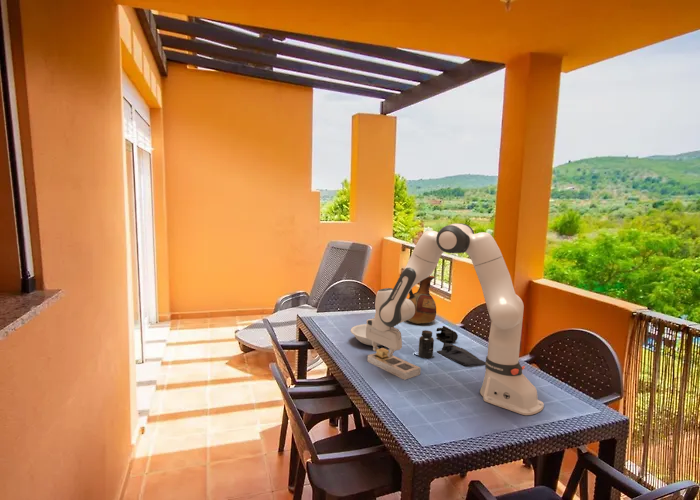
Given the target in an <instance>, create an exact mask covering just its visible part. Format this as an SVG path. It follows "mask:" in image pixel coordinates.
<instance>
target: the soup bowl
mask: <svg viewBox="0 0 700 500" xmlns="http://www.w3.org/2000/svg"><path fill="white" fill-rule="evenodd" d="M367 325H368V324H367V323H362V324H357V325H354V326H352V327H351V328H350V333H351V334H352V335H353V336H354V337H355V339H356V340H357V341H359V343H361V344H364V345H367V346H372V347H373V345H372V340H369V339H367V337H366V326H367ZM376 344H377V347H379V346H382V345H381V344H379V343H376Z"/></svg>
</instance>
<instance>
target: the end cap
mask: <svg viewBox="0 0 700 500" xmlns="http://www.w3.org/2000/svg"><path fill="white" fill-rule="evenodd" d="M435 334H436V336H435V337H436V340H438V341H439V342H440V343H442V344H444V343H449V344H454V343H456V341H457V340H458V333H457V332H456V331H454V330H453V329H451V328H449V327H447V326H445V325H442V327H437V328H436V333H435Z"/></svg>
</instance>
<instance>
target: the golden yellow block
mask: <svg viewBox="0 0 700 500" xmlns="http://www.w3.org/2000/svg"><path fill="white" fill-rule="evenodd" d="M389 352H390V350H389V349H387V348H386V347H381V348H378V349H377V351H375V353H376V357H378V358H380V359H386V358H389V357H388V353H389Z"/></svg>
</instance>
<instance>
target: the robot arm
mask: <svg viewBox="0 0 700 500" xmlns="http://www.w3.org/2000/svg"><path fill="white" fill-rule="evenodd" d="M443 253H447V254H464V253H466V254H467V255H468V256H469V258H470V260H471V263H472V265H473V268H474V270H475V273H476V275H477V278H478V281H479V283H480V286H481V289H482V294H483V297H484V298H483V299H484V301H485V302H484V303H485V304H486V305H485V306H486V307H487V308H486V309H487V311H488V314H489V319H490V322H491V323H490V329H489V333H488V334H489V336H488V345H487V356H485V357H486V358H485V362H486V363H485V366H484V367H485V373H484V378H483V381H482V385H481V387H480V389H479V393H480V395H481V396H482V400H483V401H484V402H485V403H487V404H488V403H489V404H491V405H494V406H496V407H500V408H501V409H502V408H503V409H505V410H508V411H512V412H514V413H517V414H520V415H522V416H532V415H536V414H538V413H540V412H541V411H542V410H543V409H544V407H545V406H544V405H545V404H544V402H543V401H542V400H540V399H538V398H539V397H538V391H537V387H536V386H535V385H533V383H531V381H530V380H529V379H528V378H527V377H526V375H524V374H523V370H525V368H526V366H525V365H523V366H521V364H520V363H521V362H520V361H519V358H520V346H521V337H522V330H523V328H522V327H523V320H524V318H523V317H524V310H525V309H524V308H525V306H524V302H523V300H522V298H521V297H520V296H519V295H518V294H516V291H515V288H514V284H513V281H512V276H511V274H510V272H509V269H508V266H507V264H506V261H505V259H504V257H503V256H504V255H503V254H502V251H501V249H500V247H499V246H498V244H497V241H496V240H495V238H494V237H493V235H492V234H491V233H488V232H483V231H481V232H478V233H477V232H476V233H475V232H474V229H473V228H472V227H471V226H470V225H468V224H466V223H462V222H461V223H451V224H449V225H445V226H443V227H442V228H441V229H440V230H439V231H436V230H426V231H425V232H423V233H422V235H421V236H420V238H419V239H418V241H417V243H416V244H415V246H414V248H413V251H412V252H411V255H410V257H409V260H408V261H407V263H406V266H405V267H404V269H403V270H402V272H401V274H400V276H399V277H398V279H397V281H396V283H395V285H394V286H393V288H392V287H386V288H380V289H378V291H377V292H376V295H375V299H374V300H375V301H374V303H375V304H374V309H375V314H374V317H373V318H369V319H368V318H367V319H366V323H365V324H368V325H367V326H366V337H367V339H369V340H372V345H373V346H372V345H371V346H372V351H374V352H376V351H377V349H379V346H377V344H376V343H379V344H381V345H380V346H384V347H385V348H388V350H389V353H388V357H389V358H392V357H393V356H394V353H395V351H399V350H401V349H402V347H403V341H402V332H401V331H400V329H399V328H396V327H395V326H398V325H399V324H401V323H403V322H404V323H405V322H406V321H408V320H409V319H411V318H412V317H413V316H414V314H415V305H414V303H413V302H412V301H411V300H410V299H409V298H408V296H409V292H410V290H411V289H412V290H413V288H414V287H415V286H416V285H417V284H418V283H419V284H420V281H422V280H424V279H425V278H427V277H429V276H432V273H433V272H434V271H435V270H436V267H437V265H438V264H439V261H440V259H441V257H442V255H443Z"/></svg>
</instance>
